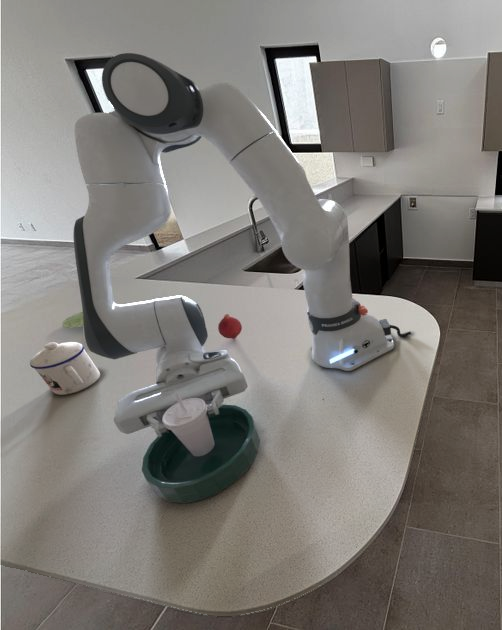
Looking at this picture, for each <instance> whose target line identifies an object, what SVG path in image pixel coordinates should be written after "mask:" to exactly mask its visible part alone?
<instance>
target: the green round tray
mask: <svg viewBox="0 0 502 630" xmlns="http://www.w3.org/2000/svg"><path fill="white" fill-rule="evenodd" d="M218 410H219V414H217V415H215V416H212V417H210V416H209V414H208V412H207V416H208V420H209V424H210V428H211V432H212V435H213V439H214V443H215V444H214V447H213V449H212V450H211V451H210V452H209V453H207V454H205V455H203V456H194V455H193V454H192V453H191V452H190V451H189V450H188V449H187V448H186V446H185V445H184V444H183V443H182V442H181V441H180V440H179V439H178V437H177V436H176V435H175V434H174V433H173V432H172V431H171V430H169V433H168V434H166V435H163V436H161V437H158V436H156V437H155V439H154V440H153V441H152V442H151V443H150V445H149V446H148V448H147V449H146V451H145V453H144V455H143V457H142V464H141V465H142V466H141V472H142V474H143V476H144V478H145V481H146V482H147V483H148V485H149V486H150V487H151V489H152V490H153V491H154V493H155V494H156V496H157V497H159V498H161V499H163V500H164V501H166V502H168V503H177V504H187V503H192V502H198V501H202V500H204V499H207V498H210V497H212V496H214V495H216V494H218V493H220V492H222V491H224V490H225V489H227V488H228V487H229V486H231V485H232V484H233V483H235V482H236V481H237V480H239V479H240V478H241V477H242V476H243V474H244V473H245V472H247V470H248V469H249V468H250V467H251V466H252V464H253V462H254V460H255V458H256V457H257V455H258V453H259V448H260V443H261V439H260V434H259V431H258V427H257V426H256V425H257V424H256V422H255V420H254V417H253V416H252V414H250V412H249V411H248V410H247V409H245V408H243V407H241V406H239V405H235V404H221V406H220V407H219V408H218Z"/></svg>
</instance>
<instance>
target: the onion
mask: <svg viewBox="0 0 502 630" xmlns="http://www.w3.org/2000/svg"><path fill="white" fill-rule="evenodd" d="M217 330H218V332H219V334H220V335H221V336H222V337H223V338H226V339H231V340H234V339H236V338H237V337H238V336H239V335H240V334H241V333H242V330H243V326H242V323H241V321H240V320H239V319H237V318H236V317H234V316H230V315H229V314H228V313H225V314H224V316H223V318H222V319H220V321H219V323H218V327H217Z"/></svg>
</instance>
